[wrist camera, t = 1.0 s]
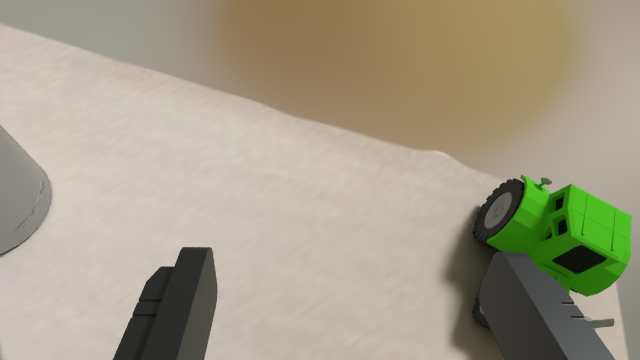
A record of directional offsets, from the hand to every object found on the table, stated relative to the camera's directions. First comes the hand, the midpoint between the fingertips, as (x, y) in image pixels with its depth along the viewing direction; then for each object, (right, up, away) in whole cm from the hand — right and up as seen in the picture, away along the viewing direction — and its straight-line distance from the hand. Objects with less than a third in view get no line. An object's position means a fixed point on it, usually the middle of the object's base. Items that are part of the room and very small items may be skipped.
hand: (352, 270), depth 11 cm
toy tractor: (+19, -7, +28) cm, 34 cm away
